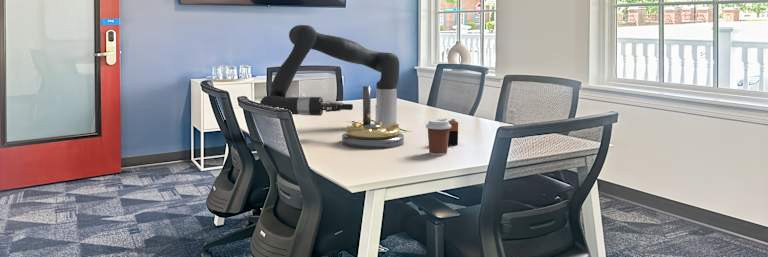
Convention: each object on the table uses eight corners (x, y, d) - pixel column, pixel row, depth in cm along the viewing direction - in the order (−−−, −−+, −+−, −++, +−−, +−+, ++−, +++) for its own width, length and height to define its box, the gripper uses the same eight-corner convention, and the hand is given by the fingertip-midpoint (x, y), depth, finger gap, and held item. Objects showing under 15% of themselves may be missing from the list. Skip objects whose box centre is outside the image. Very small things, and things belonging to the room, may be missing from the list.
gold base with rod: (336, 133, 252) (335, 87, 250) (381, 128, 264) (381, 85, 261) (363, 141, 235) (363, 92, 232) (410, 136, 246) (410, 89, 243)
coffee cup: (449, 151, 234) (449, 118, 232) (452, 156, 225) (453, 122, 223) (424, 151, 234) (424, 118, 232) (426, 156, 225) (427, 122, 223)
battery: (438, 143, 249) (438, 118, 247) (455, 143, 250) (455, 118, 248) (440, 145, 245) (441, 119, 243) (458, 145, 245) (458, 119, 244)
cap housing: (331, 141, 253) (331, 133, 253) (382, 135, 266) (382, 128, 266) (362, 151, 233) (362, 143, 233) (415, 144, 246) (415, 137, 246)
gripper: (306, 98, 252) (349, 99, 249) (313, 95, 265) (355, 95, 262) (306, 117, 253) (349, 118, 251) (314, 113, 266) (355, 114, 264)
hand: (352, 107), depth 256 cm, fingers closed
